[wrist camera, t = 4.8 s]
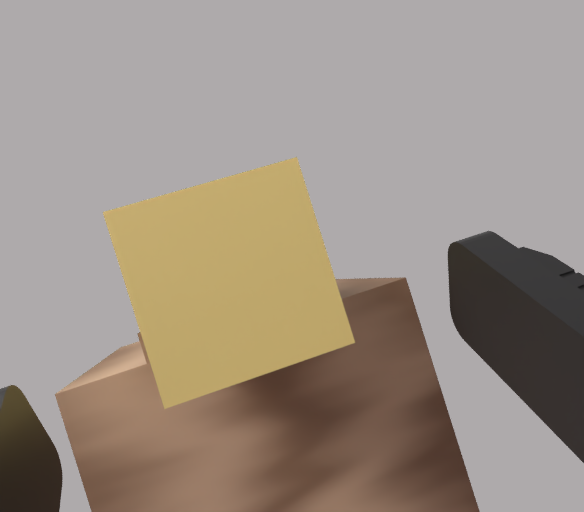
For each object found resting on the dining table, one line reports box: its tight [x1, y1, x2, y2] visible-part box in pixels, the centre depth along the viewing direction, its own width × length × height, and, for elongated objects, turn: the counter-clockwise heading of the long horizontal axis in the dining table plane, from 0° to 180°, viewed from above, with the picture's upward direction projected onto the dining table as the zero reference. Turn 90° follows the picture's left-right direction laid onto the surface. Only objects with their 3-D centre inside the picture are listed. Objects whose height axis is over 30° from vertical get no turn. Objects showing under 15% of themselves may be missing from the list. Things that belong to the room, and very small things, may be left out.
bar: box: [103, 157, 355, 409], centre depth 19 cm, size 4×20×4 cm, turn 9°
